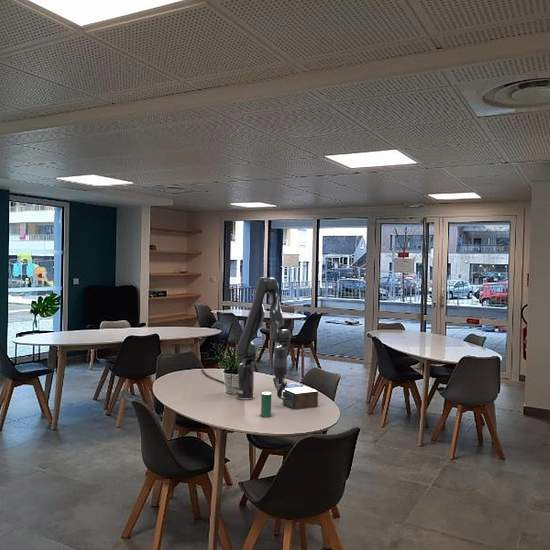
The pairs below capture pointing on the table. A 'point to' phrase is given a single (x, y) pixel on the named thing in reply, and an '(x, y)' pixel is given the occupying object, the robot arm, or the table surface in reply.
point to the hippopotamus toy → (293, 385)
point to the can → (266, 404)
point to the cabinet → (304, 397)
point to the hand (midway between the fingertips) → (279, 396)
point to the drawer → (288, 398)
